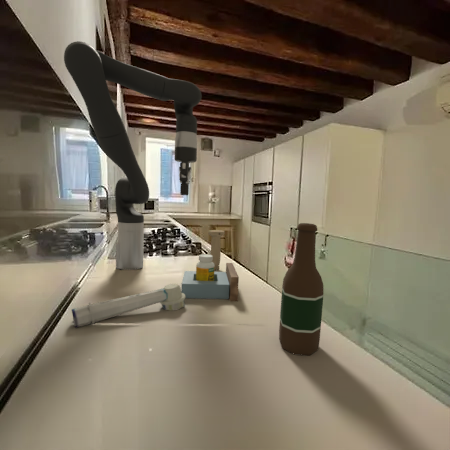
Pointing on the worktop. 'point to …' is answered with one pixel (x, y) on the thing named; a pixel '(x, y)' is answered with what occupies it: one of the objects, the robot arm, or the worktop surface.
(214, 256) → the handle
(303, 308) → the beer bottle
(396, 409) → the worktop surface
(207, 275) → the supplement bottle
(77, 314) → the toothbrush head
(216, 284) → the socket block
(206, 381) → the worktop surface
